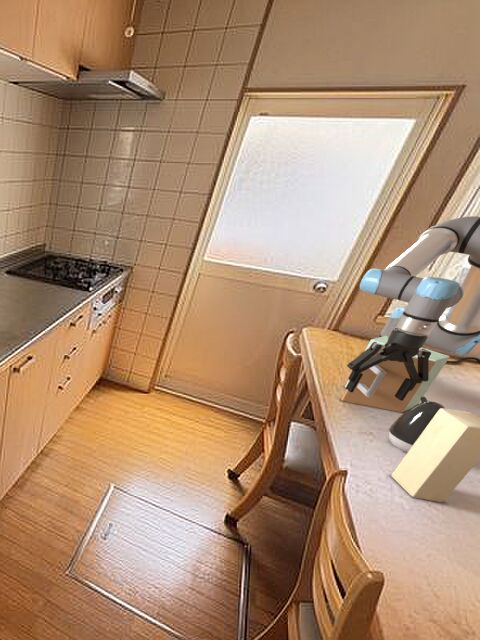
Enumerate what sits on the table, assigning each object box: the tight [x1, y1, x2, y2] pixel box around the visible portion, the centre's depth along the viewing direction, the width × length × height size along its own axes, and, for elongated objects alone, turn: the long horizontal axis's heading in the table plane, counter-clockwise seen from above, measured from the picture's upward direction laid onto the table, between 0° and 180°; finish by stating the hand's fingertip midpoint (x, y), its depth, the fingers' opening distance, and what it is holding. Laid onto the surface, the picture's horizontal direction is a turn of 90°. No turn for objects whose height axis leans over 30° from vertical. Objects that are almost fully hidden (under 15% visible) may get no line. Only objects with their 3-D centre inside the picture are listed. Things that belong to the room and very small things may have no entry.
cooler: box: [344, 336, 451, 412], centre depth 143 cm, size 10×17×19 cm, turn 25°
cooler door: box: [340, 352, 436, 413], centre depth 133 cm, size 8×17×19 cm, turn 71°
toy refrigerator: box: [390, 408, 480, 503], centre depth 98 cm, size 8×7×21 cm
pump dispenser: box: [388, 396, 446, 453], centre depth 116 cm, size 10×10×15 cm
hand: (373, 394), depth 131 cm, fingers open, 13 cm apart
